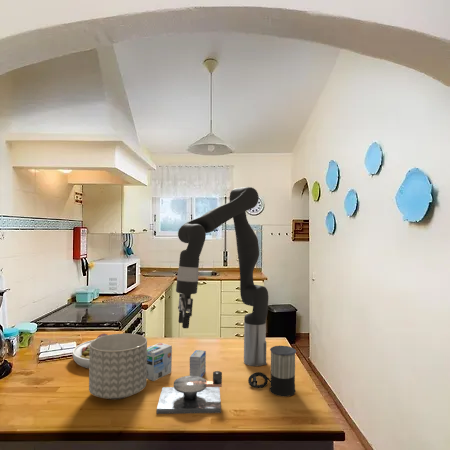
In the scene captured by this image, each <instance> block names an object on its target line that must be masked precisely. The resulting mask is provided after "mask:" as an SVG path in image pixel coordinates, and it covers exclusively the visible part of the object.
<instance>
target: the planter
mask: <svg viewBox="0 0 450 450" xmlns="http://www.w3.org/2000/svg"><path fill="white" fill-rule="evenodd" d="M147 339H148V338H147V337H145V336H144V335H141V334H137V333H127V332H126V333H112V334H107V335H106V336H102V337H99V338H97V337H96V338H95V339H92V340H93V341H91V340H90V341H91V343H90V352H89V368H88V370H89V371H88V391H89V393H90V394H91V395H92V396H94V397H97V398H100V399H107V400H113V401H114V400H123V399H126V398H128V397H131V396H133V395H136V394H137V393H138V394H139V393H140V392H141V391H143V390H144V389H145V387H146V386H147V381H148V379H147V348H148V340H147Z"/></svg>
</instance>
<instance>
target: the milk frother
mask: <svg viewBox="0 0 450 450" xmlns="http://www.w3.org/2000/svg"><path fill="white" fill-rule="evenodd" d="M269 351H270V378H269V377H268V376H267V374H265V373H263V372H261V371H256V372H254V373H252V374H251V375H250V376H249V377H248V379H247V381H248V385H249V386H250V387H252V388H255V389H263V388H265V387H266V386H267V385H268V382H269V383H270V384H269V386H270V387H269V392H270V393H271V394H272V395H274V396H277V397H285V398H287V397H292V396H294V395H295V394H296V383H295V382H296V354H297V350H296V349H295V348H294V347H291V346H289V345H275V346H272V347H270V349H269ZM257 377H261V378H262V379H263V380H264V382H263V383H262V384H258V380H257Z"/></svg>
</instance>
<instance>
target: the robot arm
mask: <svg viewBox="0 0 450 450" xmlns="http://www.w3.org/2000/svg"><path fill="white" fill-rule="evenodd" d="M229 193H230V194H229V202H227V203H223V204H222V205H219V206H216V207H214V208H212V209H211V210H208V211H207V212H206V213H204V214H202V215H201V216H199V217H197V218H195V219H192V220H190V221H187V222H186V223H184V224H182V225H181V226H180V227H179V229H178V231H177V238H178V240H179V241H180V242H182V243H184V244H187V247H186V249H184V250H182V251H180V254H179V263H178V268H177V275H176V278H177V279H176V288H175V292H176V293H177V294H178V293H179V294H178V295H179V298H178V306H177V309H178V312H179V313H178V323H179V324H182V325H181V327H182V328H183V329H190V328H189V326H190V319H191V317H192V316H193V302H194V299H193V298H192V295H197V293H198V286H199V284H198V283H199V272H200V271H199V266H200V265H199V264H200V256H201V254H202V251H203V247H204V244H205V241H206V235H207V234H209V233H212V232H214V231H215V230H216V229H218V228H219V227H220V226H223V224H225V223H226V222H228V221H229V220H231V219H232V220H233V225H234V232H235V240H236V242H235V243H236V251H237V252H236V253H237V257H238V266H239V267H238V268H239V282H240V283H239V284H240V285H239V287H240V288H239V289H240V290H239V293H240V294H239V295H240V298H241V299H240V300H241V302H242V304H244V305H245V306H249V307H252V312H251V313H250V312H249V313H247V314H245V315H244V317H243V318H244V322H243V331H244V332H243V363H244V364H245V365H247V366H250V367H261V366H265V365H267V340H266V337H267V336H266V335H267V334H266V331H267V329H266V328H267V327H266V325H267V318H268V312H269V291H268V289H267V287H266V286H264V285H261V284H260V285H258V284H255V283H254V270H255V267H256V265H257V263H258V260H259V256H260V246H259V245H260V244H259V239H258V237H257V235H256V232H255V231H254V229H253V228H252V226H251V225H250V223H249V221H248V218H247V211H249V210H252V209H254V208H255V207H256V206H257V205H258V204H259V203H258V202H259V199H260V197H259V193H258V191H257V189H255V188H254V187H250V186H244V187H235V188H233V189H232V190H231V191H230V192H229Z"/></svg>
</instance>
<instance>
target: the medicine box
mask: <svg viewBox="0 0 450 450" xmlns="http://www.w3.org/2000/svg"><path fill="white" fill-rule="evenodd" d="M206 354H207V351H206V350H201V349H197V350H196V349H195V351H193V353H192V354H191V355H190V356H189V376H198V377H202V378H203V376H204V375H205V373H206V372H207V371H206V370H207V369H206V367H207V365H206V364H207V363H206V361H207V360H206V359H207V355H206Z"/></svg>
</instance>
